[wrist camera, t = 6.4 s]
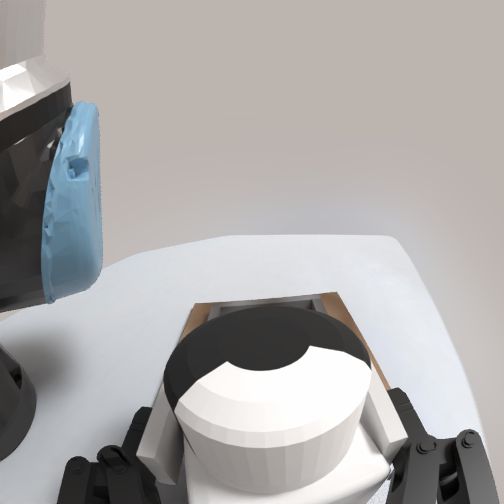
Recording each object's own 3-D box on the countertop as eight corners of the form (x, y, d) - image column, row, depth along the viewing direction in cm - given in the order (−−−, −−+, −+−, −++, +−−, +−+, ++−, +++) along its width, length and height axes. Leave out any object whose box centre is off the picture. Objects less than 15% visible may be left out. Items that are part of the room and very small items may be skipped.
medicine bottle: (210, 458, 14) (152, 302, 10) (315, 435, 15) (327, 273, 11) (226, 549, 7) (117, 467, 3) (356, 516, 8) (450, 378, 4)
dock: (154, 418, 17) (145, 400, 16) (196, 308, 34) (192, 292, 33) (391, 400, 16) (398, 380, 15) (336, 297, 33) (337, 280, 33)
